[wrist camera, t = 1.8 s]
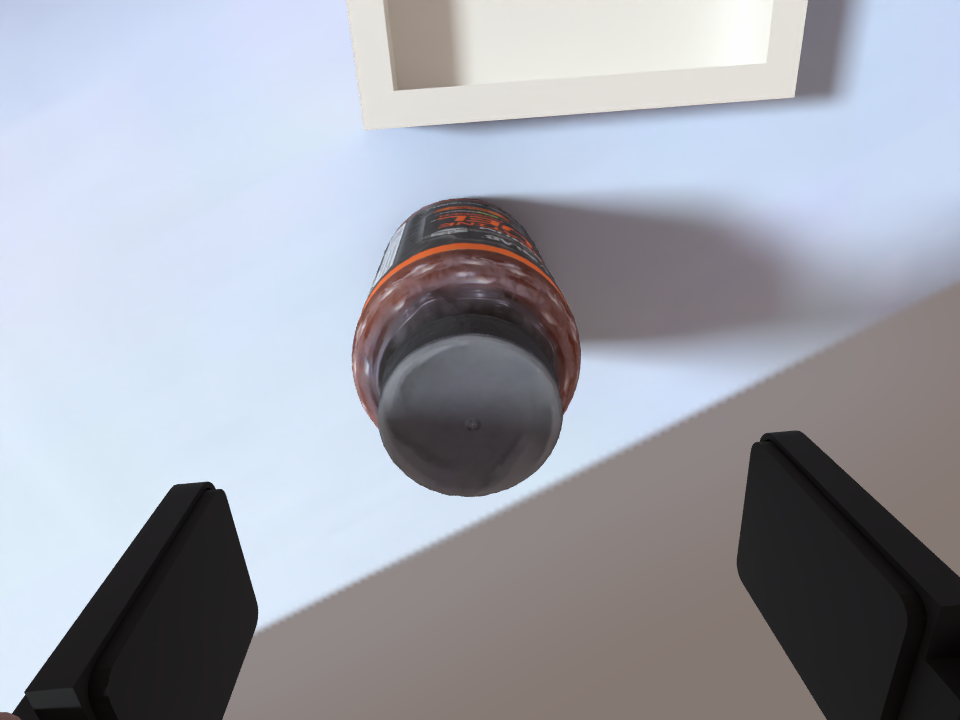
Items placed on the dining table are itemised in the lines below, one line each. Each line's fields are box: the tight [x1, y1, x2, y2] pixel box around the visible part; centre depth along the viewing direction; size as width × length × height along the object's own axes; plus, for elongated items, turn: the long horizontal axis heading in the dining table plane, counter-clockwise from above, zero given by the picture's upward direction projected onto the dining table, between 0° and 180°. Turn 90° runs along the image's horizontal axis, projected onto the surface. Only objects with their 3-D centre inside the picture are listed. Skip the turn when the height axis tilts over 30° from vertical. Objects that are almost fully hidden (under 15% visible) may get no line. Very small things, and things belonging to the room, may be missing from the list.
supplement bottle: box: [352, 199, 581, 497], centre depth 18 cm, size 6×6×11 cm
